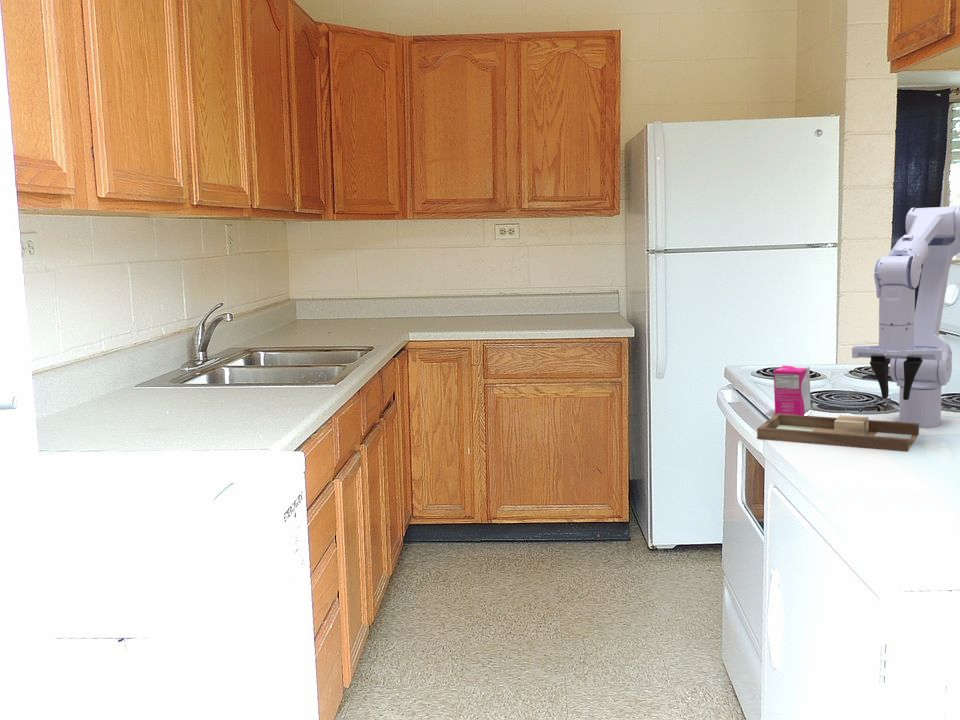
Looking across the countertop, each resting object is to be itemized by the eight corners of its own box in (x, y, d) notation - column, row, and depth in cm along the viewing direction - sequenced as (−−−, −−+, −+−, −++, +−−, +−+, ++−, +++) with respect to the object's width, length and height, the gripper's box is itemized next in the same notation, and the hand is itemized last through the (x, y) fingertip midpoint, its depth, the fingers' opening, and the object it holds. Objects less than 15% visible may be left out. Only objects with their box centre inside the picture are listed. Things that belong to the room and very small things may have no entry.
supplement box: (783, 417, 190) (783, 364, 188) (811, 420, 186) (811, 366, 184) (773, 423, 186) (773, 369, 184) (802, 426, 182) (801, 371, 180)
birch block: (840, 433, 169) (840, 415, 168) (868, 435, 166) (868, 417, 165) (834, 439, 165) (834, 421, 164) (863, 441, 162) (863, 423, 161)
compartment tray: (776, 430, 179) (776, 413, 179) (918, 441, 165) (919, 423, 164) (757, 446, 169) (757, 428, 168) (907, 459, 154) (907, 440, 154)
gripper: (848, 325, 158) (848, 400, 161) (939, 327, 150) (937, 405, 153) (856, 320, 164) (856, 392, 166) (944, 321, 156) (943, 397, 158)
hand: (895, 398), depth 160 cm, fingers open, 3 cm apart
